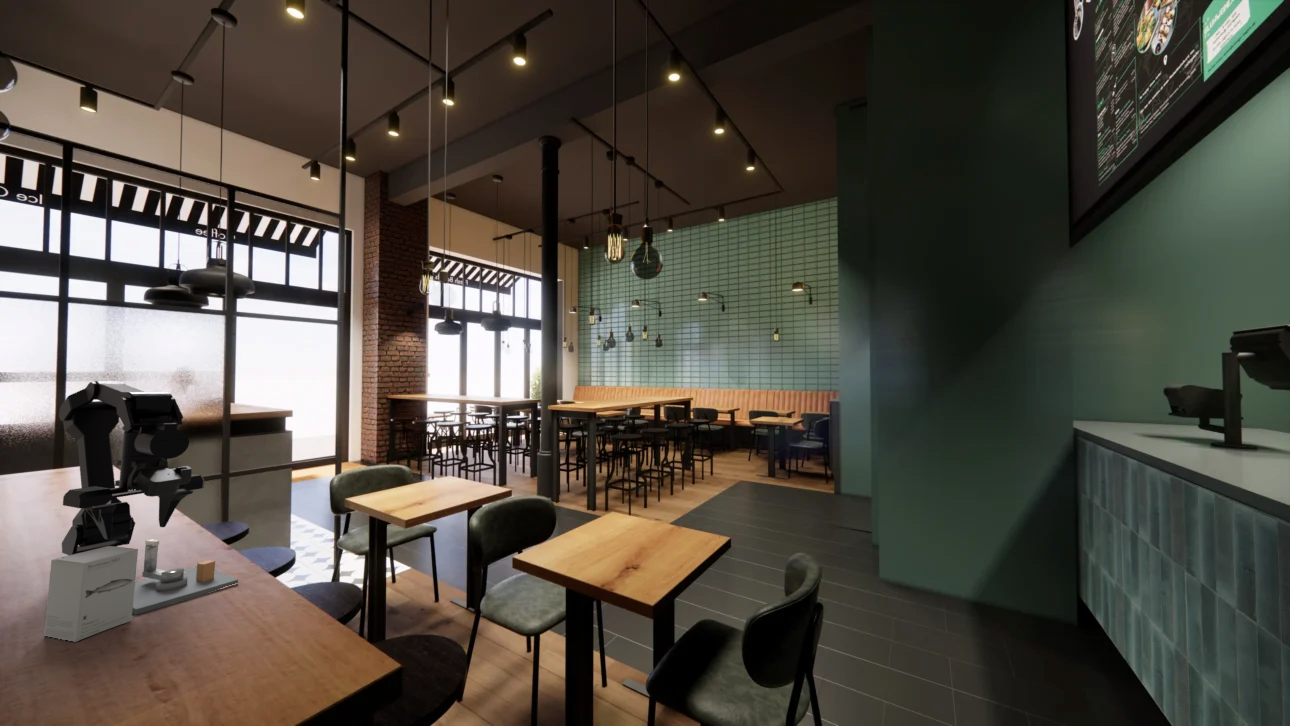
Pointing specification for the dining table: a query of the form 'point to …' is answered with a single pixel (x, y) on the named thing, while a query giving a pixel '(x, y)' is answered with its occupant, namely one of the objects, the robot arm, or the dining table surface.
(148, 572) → the crank
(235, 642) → the dining table surface
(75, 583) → the supplement box
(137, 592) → the crank bed
